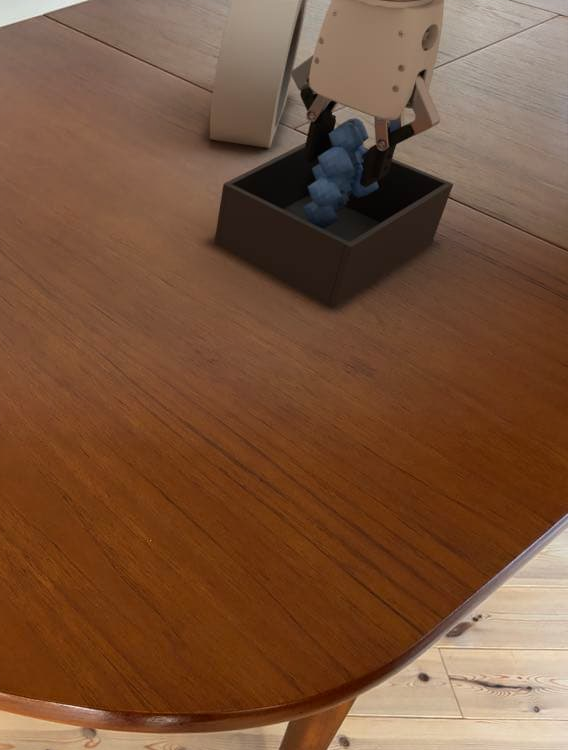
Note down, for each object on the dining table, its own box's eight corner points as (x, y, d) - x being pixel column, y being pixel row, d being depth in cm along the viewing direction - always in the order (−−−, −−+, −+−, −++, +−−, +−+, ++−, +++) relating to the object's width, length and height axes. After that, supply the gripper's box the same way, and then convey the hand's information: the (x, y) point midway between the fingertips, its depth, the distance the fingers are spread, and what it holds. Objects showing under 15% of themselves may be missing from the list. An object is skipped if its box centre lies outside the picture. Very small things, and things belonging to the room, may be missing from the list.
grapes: (345, 267, 85) (385, 157, 77) (279, 246, 87) (311, 137, 79) (373, 212, 92) (412, 106, 84) (312, 194, 95) (344, 89, 86)
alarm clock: (264, 164, 104) (297, -7, 91) (203, 155, 106) (227, -14, 93) (289, 93, 119) (321, -64, 105) (235, 86, 121) (259, -70, 107)
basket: (430, 247, 91) (453, 183, 86) (332, 312, 83) (351, 246, 78) (312, 192, 100) (327, 131, 94) (213, 246, 92) (223, 183, 87)
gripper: (513, -10, 69) (442, 189, 82) (334, -57, 79) (295, 128, 92) (463, 13, 66) (397, 217, 79) (282, -39, 76) (250, 150, 88)
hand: (343, 167), depth 85 cm, fingers closed on grapes, 5 cm apart
